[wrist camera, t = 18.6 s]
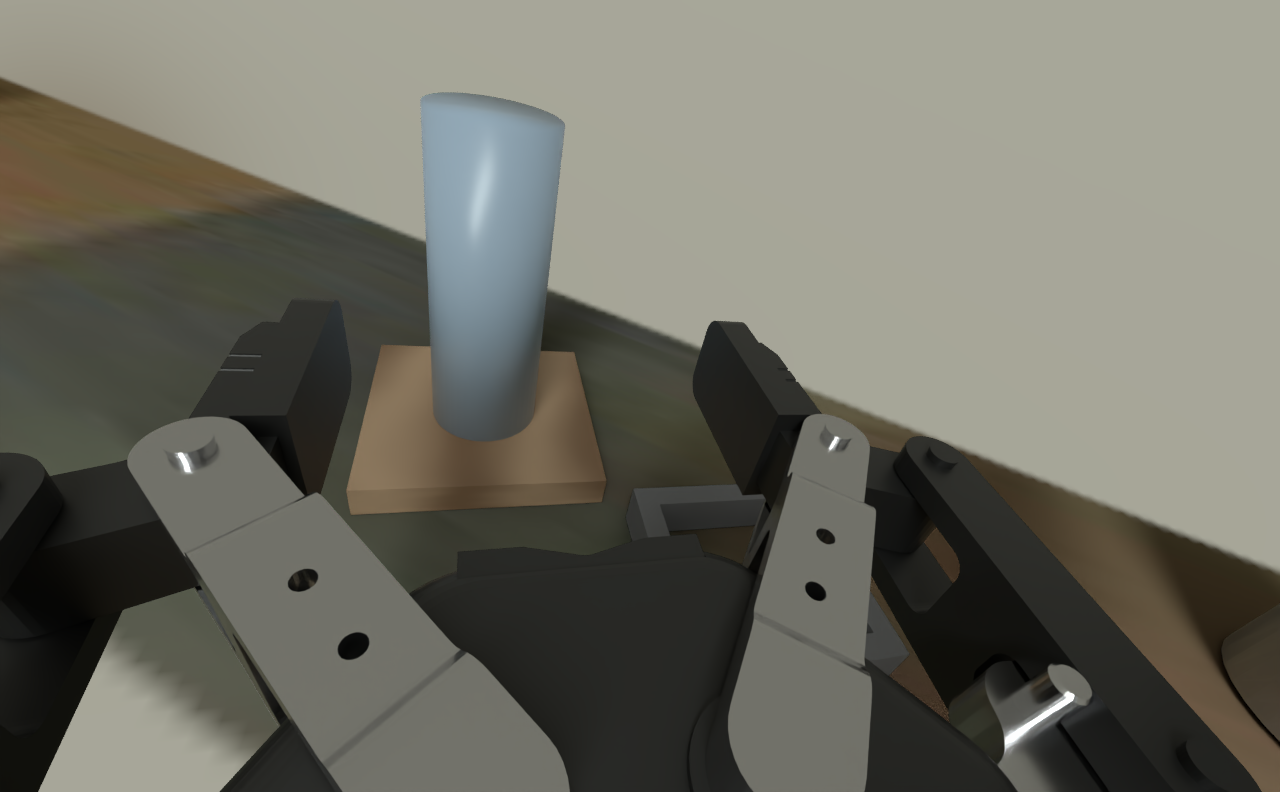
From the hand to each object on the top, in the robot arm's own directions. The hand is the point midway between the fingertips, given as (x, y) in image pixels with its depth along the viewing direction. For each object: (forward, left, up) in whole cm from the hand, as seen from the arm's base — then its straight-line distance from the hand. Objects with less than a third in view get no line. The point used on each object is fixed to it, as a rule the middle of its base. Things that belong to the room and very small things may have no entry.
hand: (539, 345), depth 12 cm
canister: (+1, -12, -12) cm, 17 cm away
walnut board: (+1, -12, -13) cm, 18 cm away
